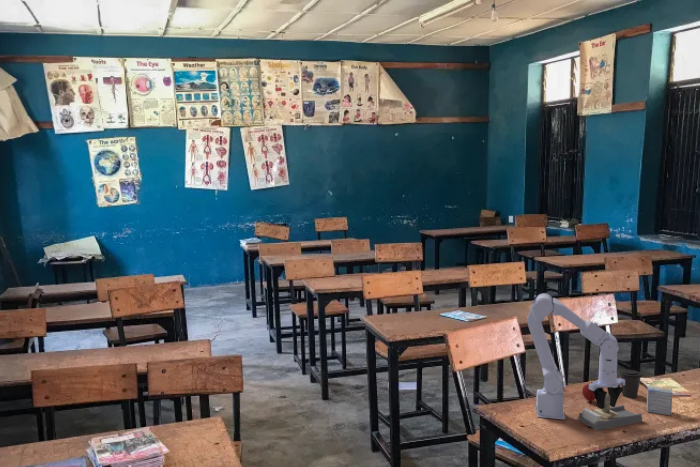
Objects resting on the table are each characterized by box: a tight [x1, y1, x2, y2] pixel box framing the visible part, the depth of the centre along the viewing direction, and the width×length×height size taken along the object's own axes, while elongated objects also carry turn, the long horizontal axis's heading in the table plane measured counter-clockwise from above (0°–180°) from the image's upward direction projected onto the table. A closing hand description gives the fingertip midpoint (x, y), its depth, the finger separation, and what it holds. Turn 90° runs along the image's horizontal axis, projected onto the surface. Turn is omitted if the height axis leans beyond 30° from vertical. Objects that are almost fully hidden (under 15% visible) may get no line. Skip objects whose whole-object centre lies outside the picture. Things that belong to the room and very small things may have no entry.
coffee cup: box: [618, 368, 643, 399], centre depth 224 cm, size 8×8×10 cm
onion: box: [581, 380, 596, 402], centre depth 218 cm, size 6×6×8 cm
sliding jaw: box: [593, 393, 618, 420], centre depth 200 cm, size 5×6×8 cm
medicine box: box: [646, 385, 674, 416], centre depth 208 cm, size 8×4×9 cm, turn 65°
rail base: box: [578, 404, 643, 431], centre depth 201 cm, size 20×9×4 cm, turn 110°
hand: (606, 407), depth 200 cm, fingers open, 5 cm apart
